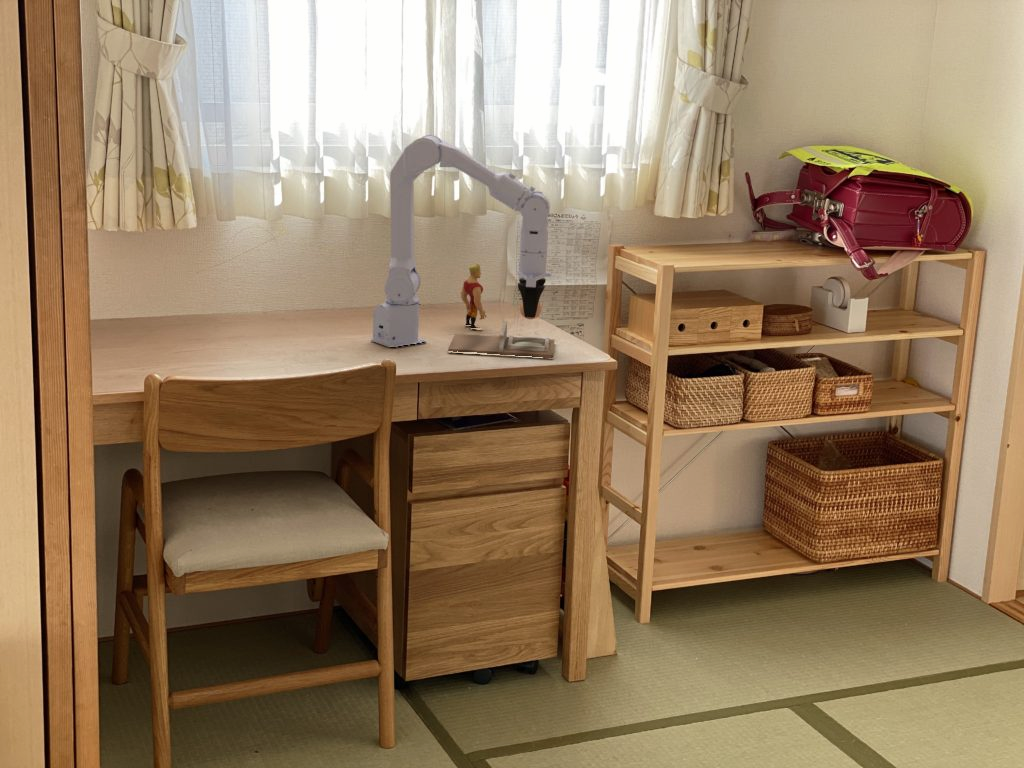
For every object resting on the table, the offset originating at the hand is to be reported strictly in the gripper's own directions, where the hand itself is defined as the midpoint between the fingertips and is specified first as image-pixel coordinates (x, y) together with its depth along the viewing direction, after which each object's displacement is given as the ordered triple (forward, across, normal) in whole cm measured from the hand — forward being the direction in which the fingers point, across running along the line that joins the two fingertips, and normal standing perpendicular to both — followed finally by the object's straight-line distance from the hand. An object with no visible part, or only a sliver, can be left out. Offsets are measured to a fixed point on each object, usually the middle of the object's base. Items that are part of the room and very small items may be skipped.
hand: (530, 314), depth 255 cm
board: (+8, 0, +6) cm, 10 cm away
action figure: (+8, +18, +13) cm, 24 cm away
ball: (-1, 0, 0) cm, 1 cm away
